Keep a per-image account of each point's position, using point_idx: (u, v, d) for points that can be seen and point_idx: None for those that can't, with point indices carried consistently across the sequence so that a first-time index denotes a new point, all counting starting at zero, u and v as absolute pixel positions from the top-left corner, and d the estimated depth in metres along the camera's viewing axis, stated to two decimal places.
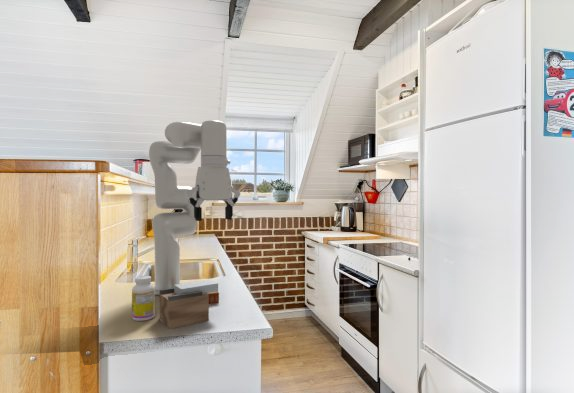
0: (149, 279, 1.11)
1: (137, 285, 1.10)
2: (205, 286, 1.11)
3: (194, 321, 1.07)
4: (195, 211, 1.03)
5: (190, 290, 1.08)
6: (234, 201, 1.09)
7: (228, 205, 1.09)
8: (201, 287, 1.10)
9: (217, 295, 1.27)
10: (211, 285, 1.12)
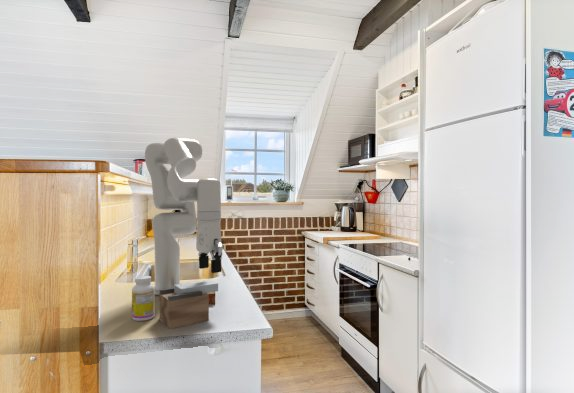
0: (149, 279, 1.11)
1: (137, 285, 1.10)
2: (205, 286, 1.11)
3: (194, 321, 1.07)
4: (218, 264, 1.10)
5: (190, 290, 1.08)
6: None
7: (204, 255, 1.18)
8: (201, 287, 1.10)
9: (213, 296, 1.26)
10: (211, 285, 1.12)
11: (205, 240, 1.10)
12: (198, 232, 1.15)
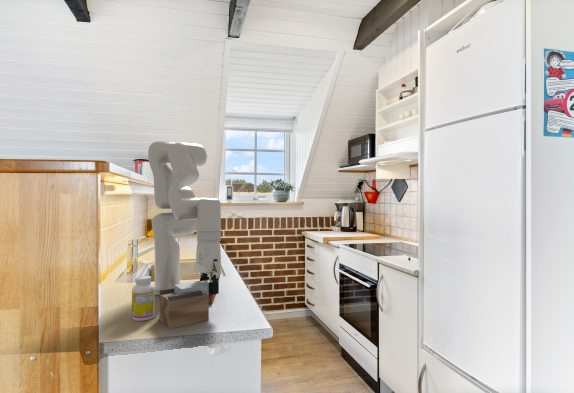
0: (149, 279, 1.11)
1: (137, 285, 1.10)
2: (205, 286, 1.11)
3: (194, 321, 1.07)
4: (215, 286, 1.11)
5: (190, 290, 1.08)
6: None
7: (205, 275, 1.18)
8: (201, 287, 1.10)
9: (210, 296, 1.25)
10: None
11: (205, 260, 1.11)
12: (198, 251, 1.15)
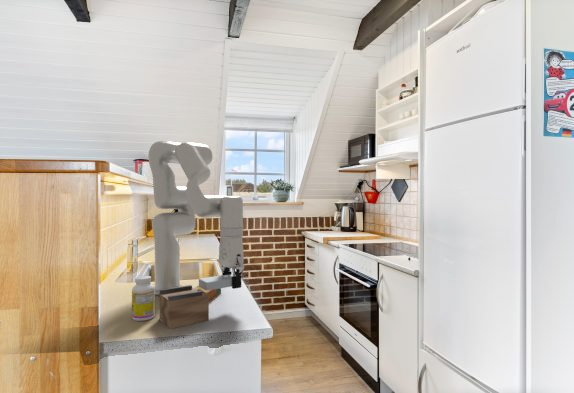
0: (149, 279, 1.11)
1: (137, 285, 1.10)
2: (228, 280, 1.16)
3: (194, 321, 1.07)
4: (238, 280, 1.16)
5: (215, 284, 1.13)
6: None
7: (228, 270, 1.23)
8: (225, 281, 1.15)
9: None
10: None
11: (228, 255, 1.15)
12: (221, 247, 1.20)
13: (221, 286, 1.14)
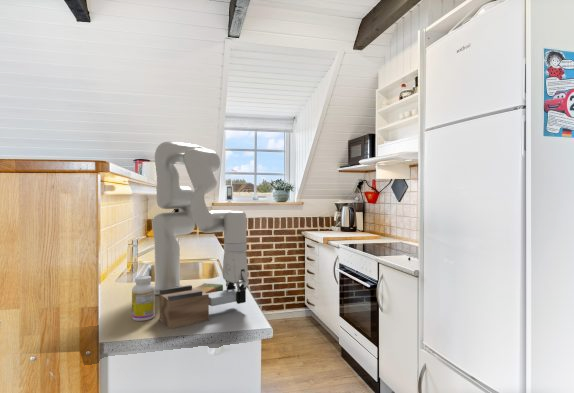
0: (149, 279, 1.11)
1: (137, 285, 1.10)
2: (233, 295, 1.16)
3: (194, 321, 1.07)
4: (242, 295, 1.17)
5: (219, 299, 1.13)
6: None
7: (232, 285, 1.23)
8: (229, 296, 1.15)
9: None
10: None
11: (232, 271, 1.16)
12: (225, 262, 1.21)
13: (226, 301, 1.15)
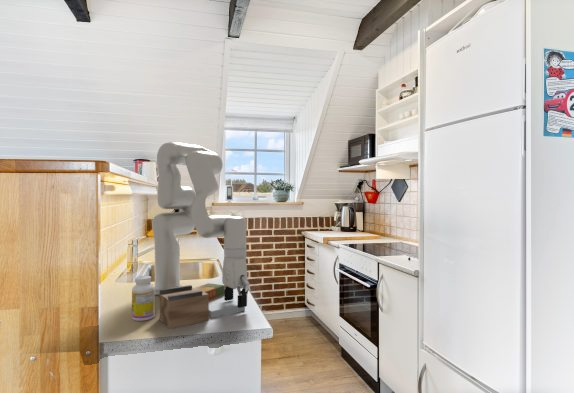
0: (149, 279, 1.11)
1: (137, 285, 1.10)
2: (233, 307, 1.16)
3: (194, 321, 1.07)
4: (244, 299, 1.16)
5: (219, 312, 1.14)
6: None
7: (229, 287, 1.24)
8: (229, 308, 1.16)
9: None
10: None
11: (232, 276, 1.16)
12: (224, 267, 1.21)
13: (226, 314, 1.15)
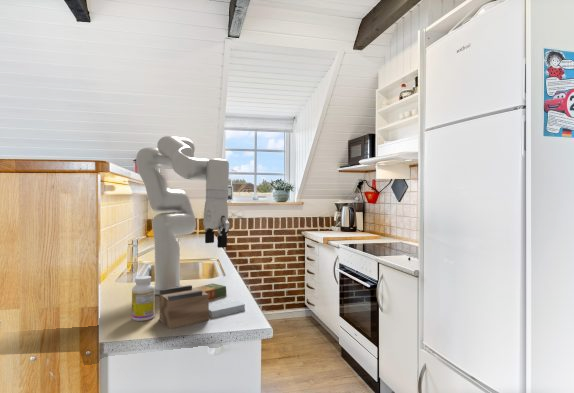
0: (149, 279, 1.11)
1: (137, 285, 1.10)
2: (233, 307, 1.17)
3: (194, 321, 1.07)
4: (224, 239, 1.17)
5: (220, 312, 1.14)
6: None
7: (210, 230, 1.26)
8: (230, 308, 1.16)
9: None
10: (238, 306, 1.18)
11: (213, 217, 1.17)
12: (206, 209, 1.22)
13: (226, 314, 1.15)
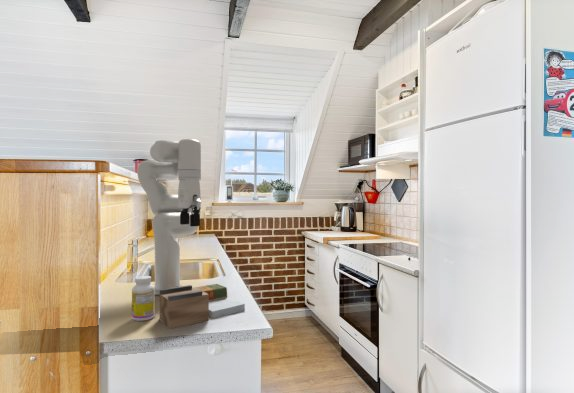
0: (149, 279, 1.11)
1: (137, 285, 1.10)
2: (233, 307, 1.17)
3: (194, 321, 1.07)
4: (196, 218, 1.18)
5: (220, 312, 1.14)
6: None
7: (185, 212, 1.26)
8: (230, 308, 1.16)
9: None
10: (238, 306, 1.18)
11: (185, 196, 1.18)
12: (179, 189, 1.23)
13: (226, 314, 1.15)
